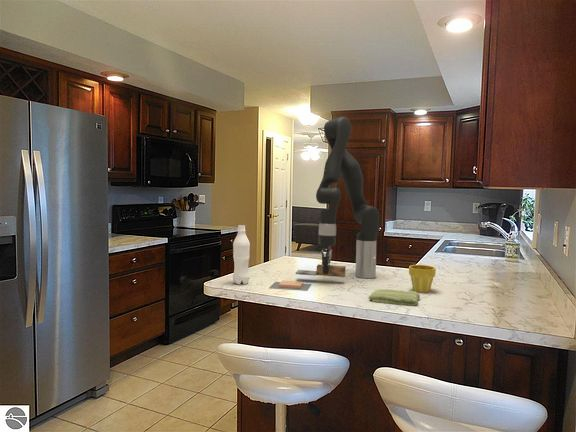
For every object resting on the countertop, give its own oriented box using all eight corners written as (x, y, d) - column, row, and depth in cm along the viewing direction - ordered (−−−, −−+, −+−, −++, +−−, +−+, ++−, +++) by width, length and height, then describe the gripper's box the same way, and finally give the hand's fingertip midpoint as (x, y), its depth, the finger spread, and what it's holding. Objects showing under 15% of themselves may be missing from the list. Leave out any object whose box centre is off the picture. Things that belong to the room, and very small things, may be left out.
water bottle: (252, 282, 183) (253, 225, 181) (244, 285, 177) (244, 226, 175) (238, 280, 186) (238, 224, 184) (229, 284, 180) (229, 225, 178)
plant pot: (421, 294, 166) (422, 270, 166) (402, 288, 176) (403, 265, 175) (440, 292, 171) (441, 268, 170) (421, 286, 180) (422, 263, 180)
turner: (345, 274, 184) (345, 265, 184) (344, 277, 178) (344, 268, 178) (298, 271, 189) (298, 262, 188) (295, 274, 183) (295, 265, 183)
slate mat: (311, 285, 179) (311, 284, 179) (307, 292, 168) (307, 290, 168) (275, 283, 183) (275, 281, 182) (268, 289, 171) (268, 288, 171)
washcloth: (373, 294, 168) (373, 286, 167) (419, 299, 161) (420, 291, 161) (367, 303, 155) (367, 294, 155) (417, 308, 149) (418, 299, 149)
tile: (303, 281, 177) (282, 280, 179) (300, 285, 171) (278, 284, 172) (303, 284, 178) (282, 283, 179) (300, 288, 171) (278, 287, 172)
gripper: (334, 236, 174) (332, 277, 175) (337, 232, 188) (336, 270, 189) (316, 235, 176) (315, 276, 177) (321, 231, 190) (319, 269, 191)
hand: (326, 273), depth 183 cm, fingers closed on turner, 4 cm apart
